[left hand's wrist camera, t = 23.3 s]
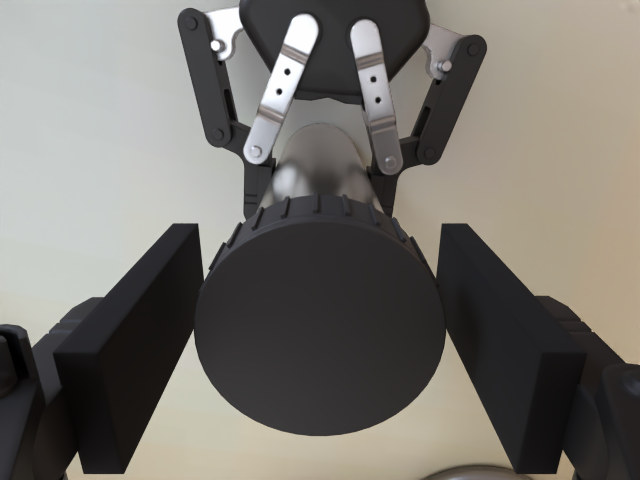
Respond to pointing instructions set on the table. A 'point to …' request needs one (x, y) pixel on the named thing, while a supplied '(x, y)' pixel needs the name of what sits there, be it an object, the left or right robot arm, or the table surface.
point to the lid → (319, 317)
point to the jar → (320, 168)
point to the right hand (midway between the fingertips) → (316, 233)
